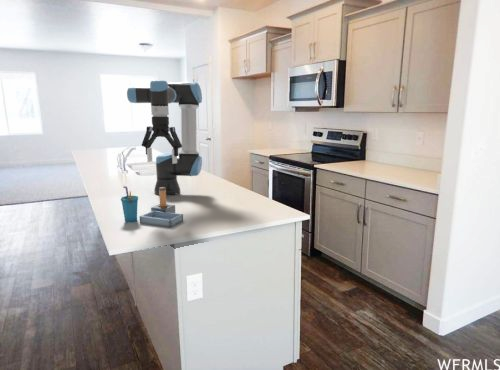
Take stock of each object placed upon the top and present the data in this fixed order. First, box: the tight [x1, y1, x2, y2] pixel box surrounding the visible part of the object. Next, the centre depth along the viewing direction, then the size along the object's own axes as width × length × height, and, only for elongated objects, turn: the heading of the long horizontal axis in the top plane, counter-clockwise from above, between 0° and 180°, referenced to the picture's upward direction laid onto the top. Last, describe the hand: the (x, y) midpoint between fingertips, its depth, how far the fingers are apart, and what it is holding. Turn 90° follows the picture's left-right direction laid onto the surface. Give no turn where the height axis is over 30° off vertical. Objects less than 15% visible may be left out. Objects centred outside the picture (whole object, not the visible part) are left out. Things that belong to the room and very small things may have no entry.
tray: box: [138, 210, 184, 228], centre depth 160 cm, size 16×10×3 cm, turn 68°
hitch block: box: [150, 203, 176, 213], centre depth 172 cm, size 8×8×4 cm
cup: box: [120, 185, 139, 223], centre depth 162 cm, size 14×8×15 cm, turn 34°
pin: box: [159, 187, 167, 208], centre depth 171 cm, size 3×3×13 cm
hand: (162, 162), depth 167 cm, fingers open, 13 cm apart
